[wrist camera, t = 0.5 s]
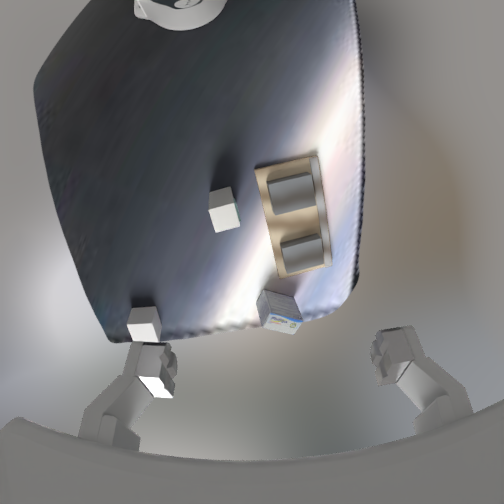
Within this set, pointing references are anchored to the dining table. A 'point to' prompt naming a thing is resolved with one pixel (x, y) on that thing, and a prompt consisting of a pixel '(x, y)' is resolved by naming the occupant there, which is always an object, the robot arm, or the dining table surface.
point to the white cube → (144, 324)
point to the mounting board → (295, 215)
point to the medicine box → (278, 312)
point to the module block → (223, 209)
